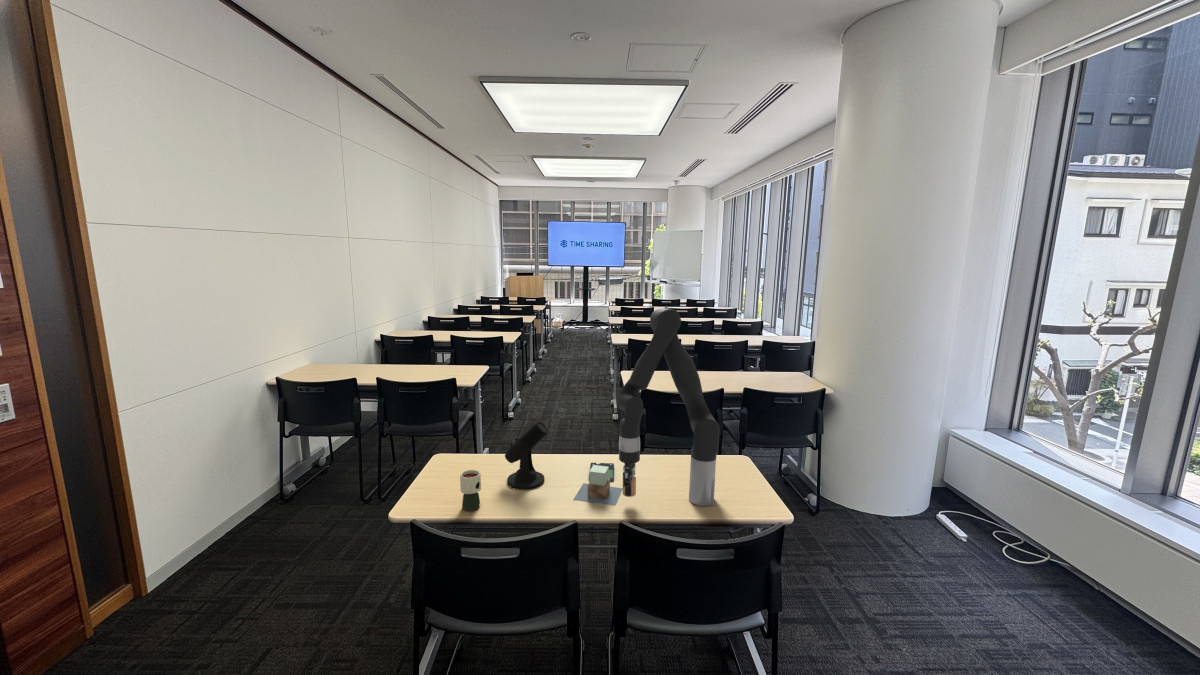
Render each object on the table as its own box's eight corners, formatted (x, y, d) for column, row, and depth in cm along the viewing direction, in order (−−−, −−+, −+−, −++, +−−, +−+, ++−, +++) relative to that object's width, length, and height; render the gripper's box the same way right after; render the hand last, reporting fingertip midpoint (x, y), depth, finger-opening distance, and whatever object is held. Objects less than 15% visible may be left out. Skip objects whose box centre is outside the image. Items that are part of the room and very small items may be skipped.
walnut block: (609, 490, 187) (610, 478, 186) (605, 499, 180) (605, 486, 180) (592, 488, 189) (592, 476, 188) (587, 496, 182) (587, 484, 181)
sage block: (608, 479, 186) (608, 466, 185) (604, 486, 180) (605, 473, 179) (593, 477, 187) (593, 464, 187) (589, 483, 182) (589, 471, 181)
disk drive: (590, 468, 210) (588, 483, 196) (590, 462, 210) (588, 477, 195) (614, 469, 210) (614, 484, 195) (614, 463, 210) (614, 477, 195)
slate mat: (622, 490, 190) (622, 488, 189) (615, 507, 176) (615, 505, 176) (583, 485, 193) (583, 483, 193) (573, 501, 180) (573, 499, 180)
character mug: (478, 515, 169) (477, 480, 167) (457, 515, 169) (456, 480, 167) (483, 500, 180) (483, 467, 178) (464, 500, 179) (463, 467, 177)
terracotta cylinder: (636, 491, 178) (636, 475, 177) (634, 497, 173) (634, 481, 172) (623, 489, 179) (623, 474, 178) (621, 496, 174) (621, 480, 173)
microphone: (545, 490, 188) (545, 428, 184) (501, 489, 189) (500, 427, 185) (550, 473, 203) (550, 416, 199) (509, 472, 203) (508, 415, 199)
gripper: (636, 456, 165) (636, 502, 168) (642, 441, 179) (642, 484, 182) (615, 454, 167) (615, 500, 170) (622, 439, 181) (622, 482, 184)
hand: (629, 491), depth 176 cm, fingers closed on terracotta cylinder, 4 cm apart
